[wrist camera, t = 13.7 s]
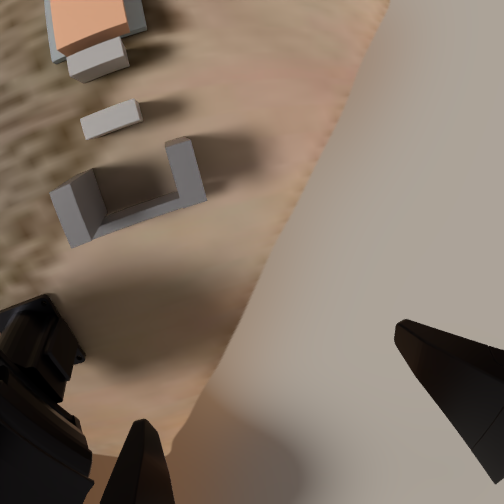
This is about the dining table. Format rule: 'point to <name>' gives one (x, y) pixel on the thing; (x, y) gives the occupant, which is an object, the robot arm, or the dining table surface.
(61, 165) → the dining table surface
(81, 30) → the bar
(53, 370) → the robot arm
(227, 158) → the dining table surface
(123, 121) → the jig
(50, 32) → the mat
